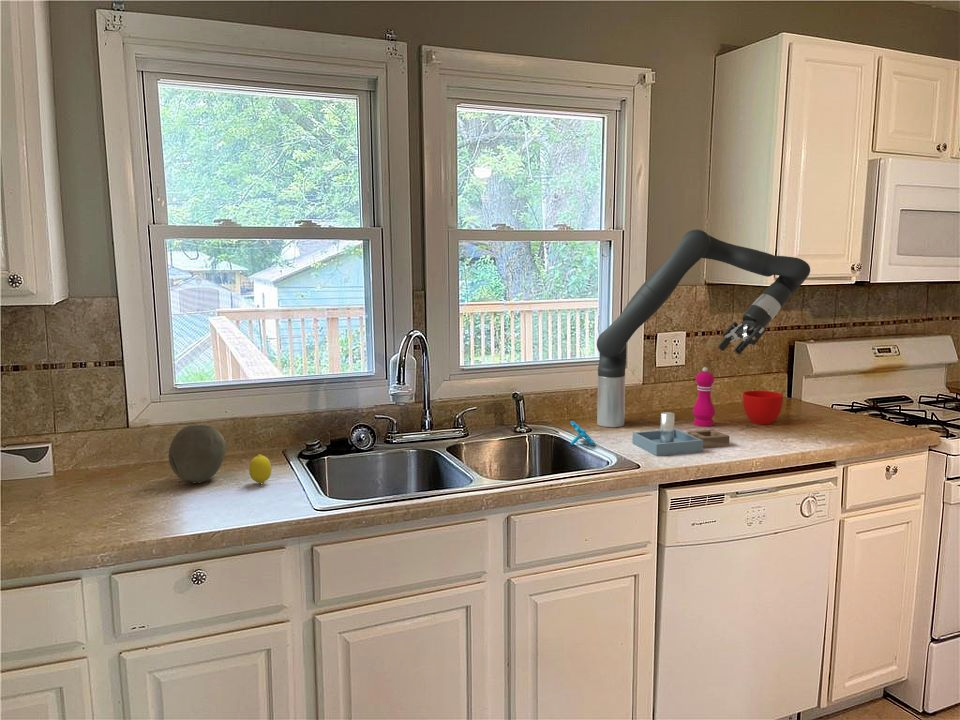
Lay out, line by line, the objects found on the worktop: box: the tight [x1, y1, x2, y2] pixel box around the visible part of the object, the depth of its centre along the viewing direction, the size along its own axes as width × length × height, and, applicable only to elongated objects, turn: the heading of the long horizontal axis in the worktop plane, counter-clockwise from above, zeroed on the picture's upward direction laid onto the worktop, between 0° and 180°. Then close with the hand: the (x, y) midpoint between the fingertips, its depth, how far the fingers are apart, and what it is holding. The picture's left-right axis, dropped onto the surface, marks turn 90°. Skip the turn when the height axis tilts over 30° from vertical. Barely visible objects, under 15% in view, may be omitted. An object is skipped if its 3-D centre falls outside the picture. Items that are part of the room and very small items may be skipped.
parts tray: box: [631, 428, 704, 457], centre depth 215 cm, size 15×15×4 cm
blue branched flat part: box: [569, 420, 596, 446], centre depth 220 cm, size 11×6×10 cm
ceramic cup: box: [742, 390, 784, 426], centre depth 246 cm, size 13×17×10 cm
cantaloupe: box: [168, 424, 227, 484], centre depth 188 cm, size 14×14×15 cm
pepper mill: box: [692, 366, 716, 428], centre depth 242 cm, size 7×7×20 cm
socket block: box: [686, 429, 730, 449], centre depth 219 cm, size 9×9×3 cm
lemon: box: [248, 454, 272, 484], centre depth 185 cm, size 6×6×8 cm
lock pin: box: [659, 411, 676, 443], centre depth 214 cm, size 4×4×10 cm
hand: (728, 350), depth 218 cm, fingers open, 8 cm apart
